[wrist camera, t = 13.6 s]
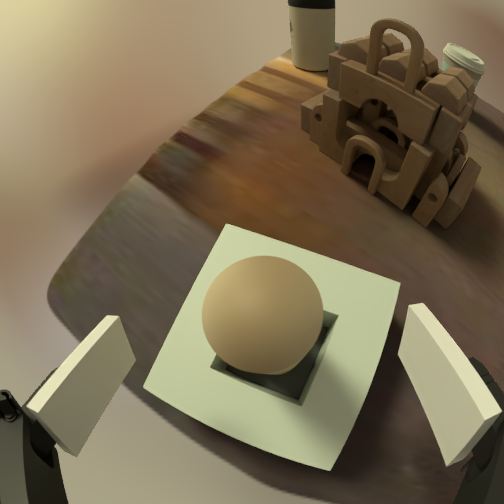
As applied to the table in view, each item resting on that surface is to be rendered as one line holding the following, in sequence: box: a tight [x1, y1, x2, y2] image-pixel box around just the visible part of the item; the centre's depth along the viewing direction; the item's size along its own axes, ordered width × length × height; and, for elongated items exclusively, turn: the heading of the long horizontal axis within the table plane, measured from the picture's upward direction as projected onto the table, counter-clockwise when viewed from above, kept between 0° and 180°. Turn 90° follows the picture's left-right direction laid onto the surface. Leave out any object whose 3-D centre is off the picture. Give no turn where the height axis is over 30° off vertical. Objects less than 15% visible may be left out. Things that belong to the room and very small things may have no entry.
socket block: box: [143, 224, 400, 471], centre depth 19 cm, size 14×14×5 cm
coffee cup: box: [442, 43, 485, 87], centre depth 29 cm, size 8×8×12 cm
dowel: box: [202, 256, 323, 375], centre depth 15 cm, size 4×4×14 cm
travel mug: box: [288, 0, 335, 71], centre depth 34 cm, size 8×8×18 cm
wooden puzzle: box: [301, 19, 481, 229], centre depth 21 cm, size 22×15×19 cm, turn 42°
